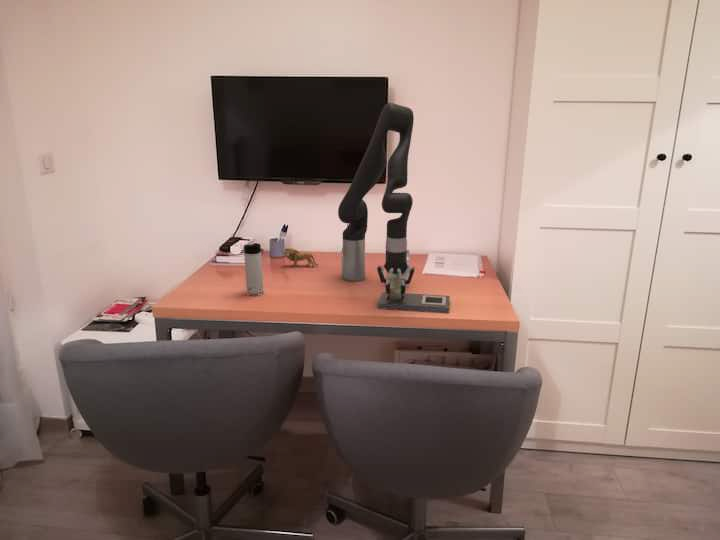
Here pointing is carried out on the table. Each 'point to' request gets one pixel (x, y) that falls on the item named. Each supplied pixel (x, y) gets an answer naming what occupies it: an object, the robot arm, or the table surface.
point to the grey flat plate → (416, 302)
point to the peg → (395, 288)
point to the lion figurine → (299, 256)
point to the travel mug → (253, 269)
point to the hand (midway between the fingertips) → (395, 293)
